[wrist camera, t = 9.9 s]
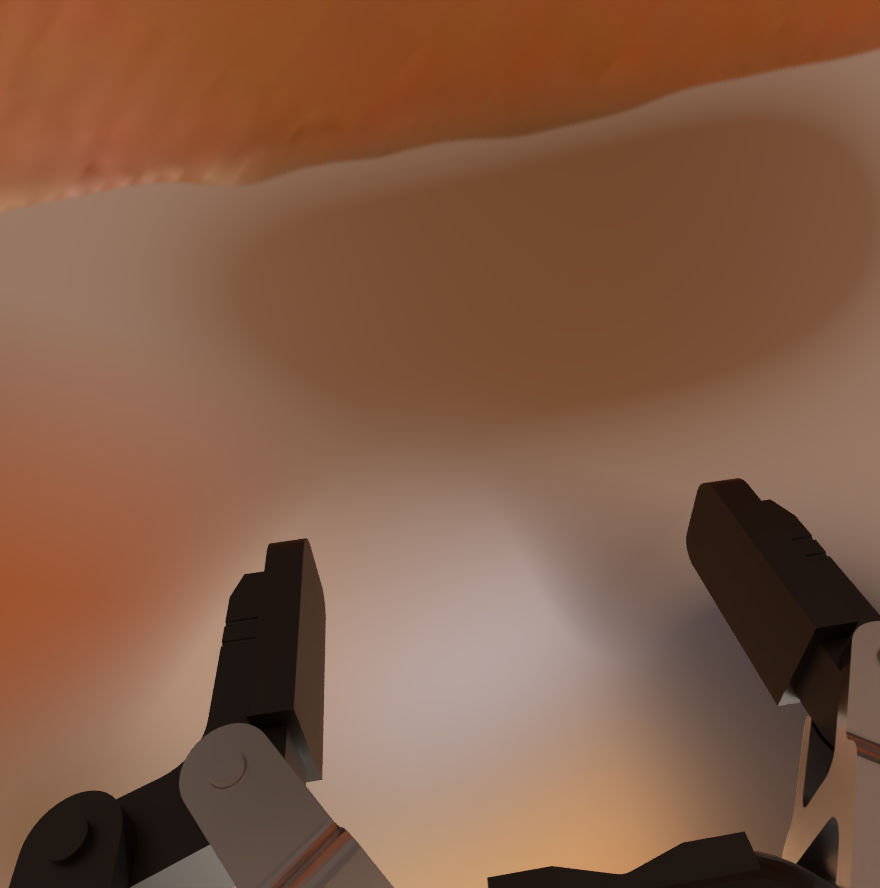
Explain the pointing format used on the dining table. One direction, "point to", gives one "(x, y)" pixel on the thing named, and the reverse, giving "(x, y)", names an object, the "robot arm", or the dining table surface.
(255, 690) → the robot arm
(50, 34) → the dining table surface
